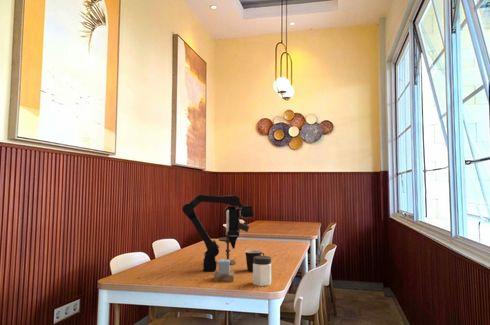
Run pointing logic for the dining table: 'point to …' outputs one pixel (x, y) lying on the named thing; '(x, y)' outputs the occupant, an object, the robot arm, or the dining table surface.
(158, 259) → the dining table surface
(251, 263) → the coffee mug
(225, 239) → the candlestick
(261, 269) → the jar
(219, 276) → the base
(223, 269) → the block
